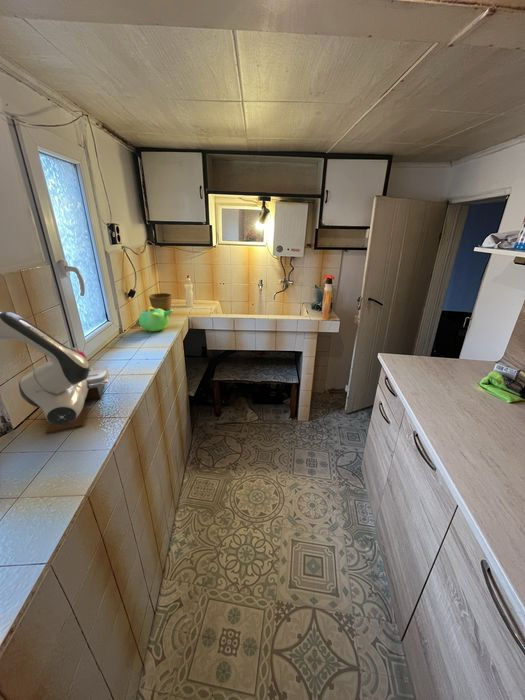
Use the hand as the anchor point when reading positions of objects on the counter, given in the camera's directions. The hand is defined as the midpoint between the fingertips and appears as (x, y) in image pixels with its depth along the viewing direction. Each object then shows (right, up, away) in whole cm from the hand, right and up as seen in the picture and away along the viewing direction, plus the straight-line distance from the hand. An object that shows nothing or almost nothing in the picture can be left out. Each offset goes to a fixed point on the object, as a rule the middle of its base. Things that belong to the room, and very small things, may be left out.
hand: (80, 371), depth 106 cm
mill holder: (0, -9, +3) cm, 10 cm away
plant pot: (-1, +31, +93) cm, 98 cm away
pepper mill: (0, -10, +3) cm, 10 cm away
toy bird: (+2, +20, +70) cm, 73 cm away
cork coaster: (+3, -16, -11) cm, 20 cm away
